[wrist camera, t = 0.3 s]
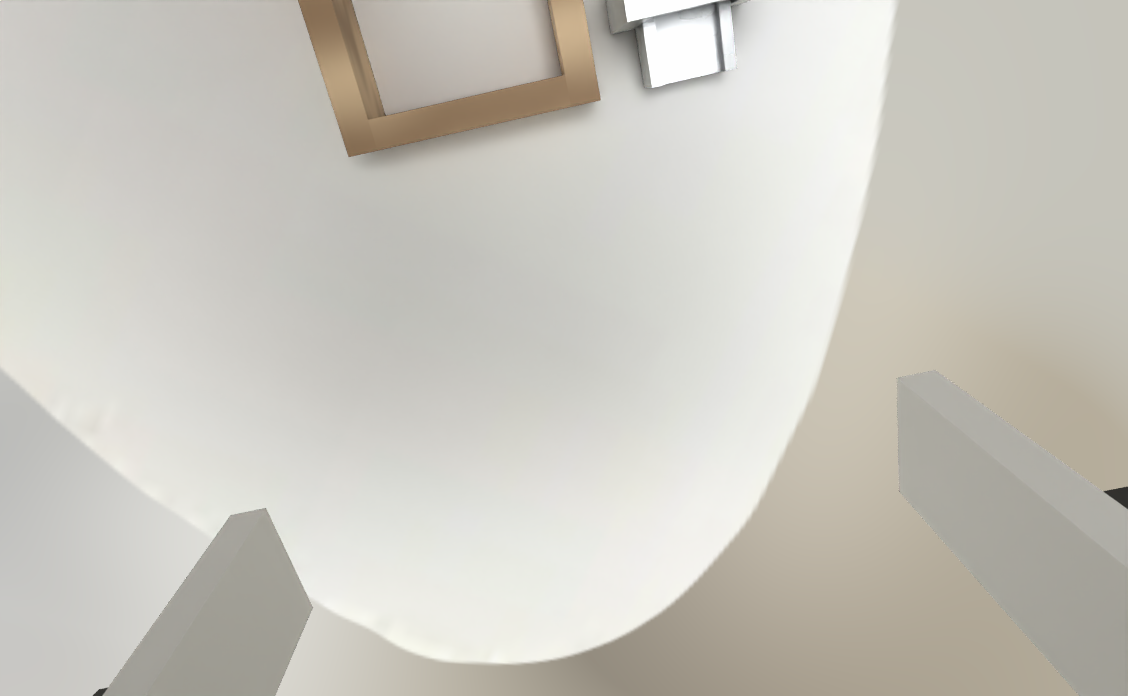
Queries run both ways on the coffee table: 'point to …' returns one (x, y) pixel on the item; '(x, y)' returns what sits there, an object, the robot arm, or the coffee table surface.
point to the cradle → (373, 131)
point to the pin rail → (678, 36)
